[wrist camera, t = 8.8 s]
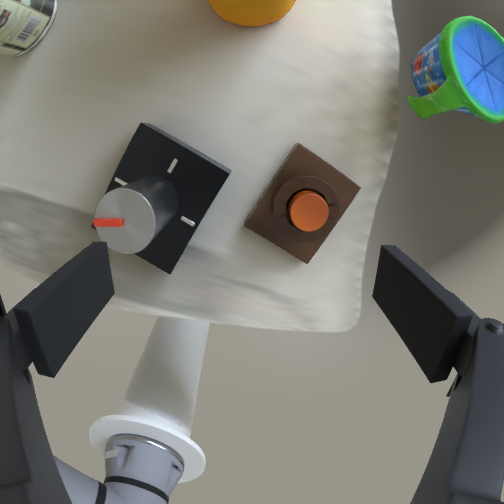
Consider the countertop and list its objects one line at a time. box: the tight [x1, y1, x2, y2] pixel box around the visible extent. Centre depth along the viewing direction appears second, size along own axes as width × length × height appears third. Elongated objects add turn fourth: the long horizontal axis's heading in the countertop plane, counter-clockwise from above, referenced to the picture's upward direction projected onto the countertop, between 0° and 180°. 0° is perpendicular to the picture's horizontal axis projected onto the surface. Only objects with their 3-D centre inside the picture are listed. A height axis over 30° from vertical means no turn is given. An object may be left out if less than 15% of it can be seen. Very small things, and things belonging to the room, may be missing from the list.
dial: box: [93, 175, 178, 254], centre depth 25 cm, size 5×5×8 cm
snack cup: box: [407, 16, 504, 123], centre depth 22 cm, size 16×10×10 cm
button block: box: [244, 143, 361, 264], centre depth 31 cm, size 10×8×3 cm
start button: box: [288, 191, 329, 232], centre depth 29 cm, size 4×4×2 cm
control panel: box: [91, 123, 231, 274], centre depth 30 cm, size 12×10×3 cm
